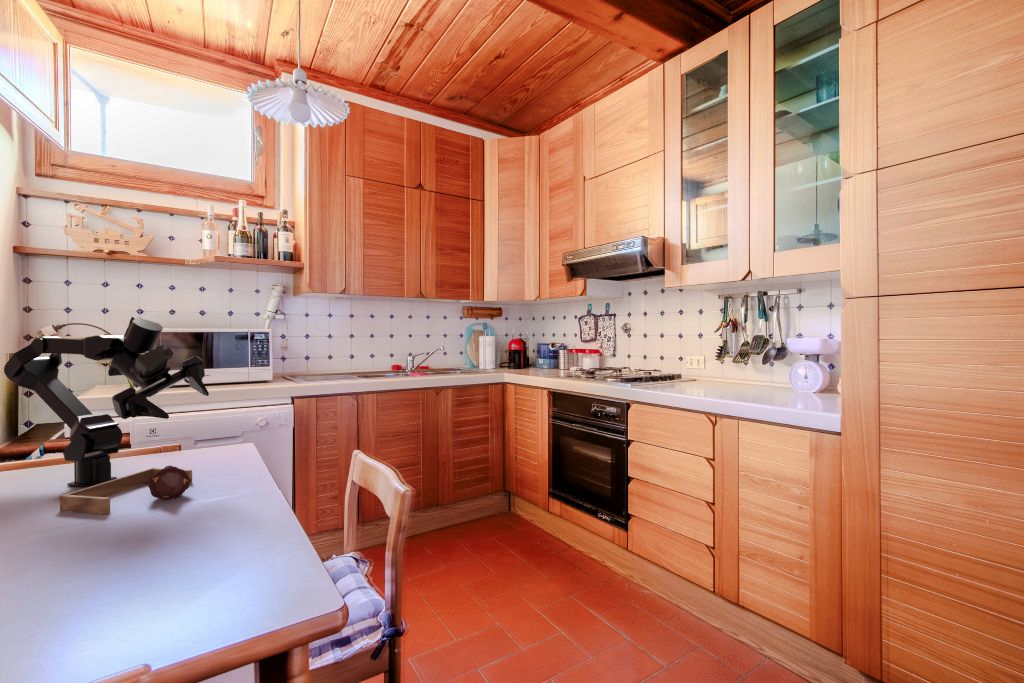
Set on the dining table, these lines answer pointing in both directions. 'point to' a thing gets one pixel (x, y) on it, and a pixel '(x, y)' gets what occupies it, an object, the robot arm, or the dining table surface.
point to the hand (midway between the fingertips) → (188, 405)
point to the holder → (105, 492)
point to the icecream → (169, 483)
